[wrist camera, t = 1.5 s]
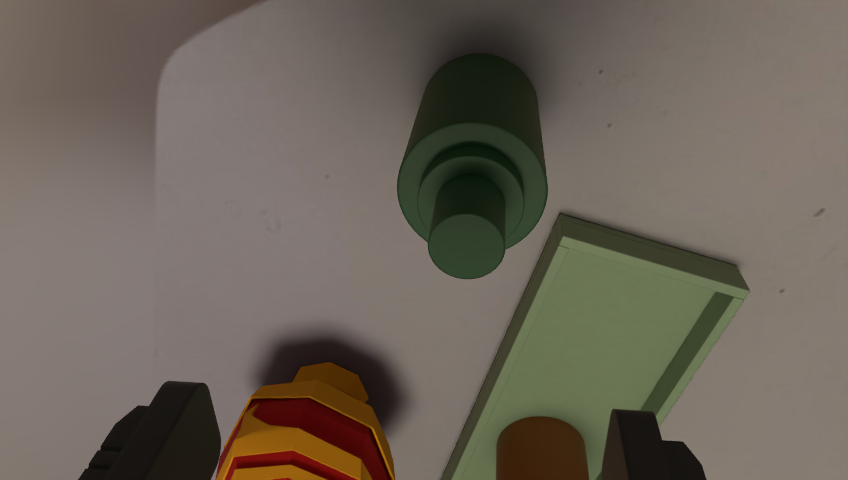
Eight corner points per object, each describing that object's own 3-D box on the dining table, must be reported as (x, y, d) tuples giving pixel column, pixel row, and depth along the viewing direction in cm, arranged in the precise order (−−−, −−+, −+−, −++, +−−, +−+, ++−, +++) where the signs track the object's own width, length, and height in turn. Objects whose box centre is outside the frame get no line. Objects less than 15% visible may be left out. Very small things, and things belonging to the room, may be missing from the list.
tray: (559, 213, 36) (562, 235, 34) (737, 265, 36) (751, 291, 34) (417, 530, 51) (414, 559, 49) (544, 564, 52) (546, 594, 50)
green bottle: (400, 87, 33) (347, 213, 22) (506, 31, 31) (506, 138, 20) (455, 181, 36) (433, 337, 24) (556, 134, 34) (582, 281, 23)
